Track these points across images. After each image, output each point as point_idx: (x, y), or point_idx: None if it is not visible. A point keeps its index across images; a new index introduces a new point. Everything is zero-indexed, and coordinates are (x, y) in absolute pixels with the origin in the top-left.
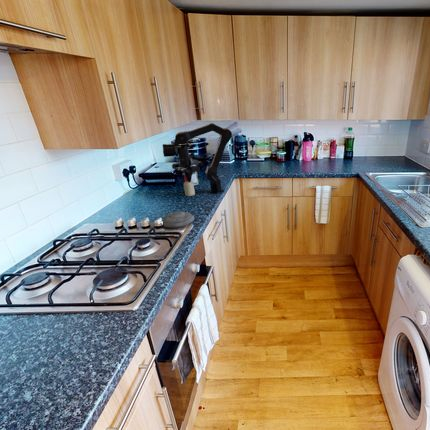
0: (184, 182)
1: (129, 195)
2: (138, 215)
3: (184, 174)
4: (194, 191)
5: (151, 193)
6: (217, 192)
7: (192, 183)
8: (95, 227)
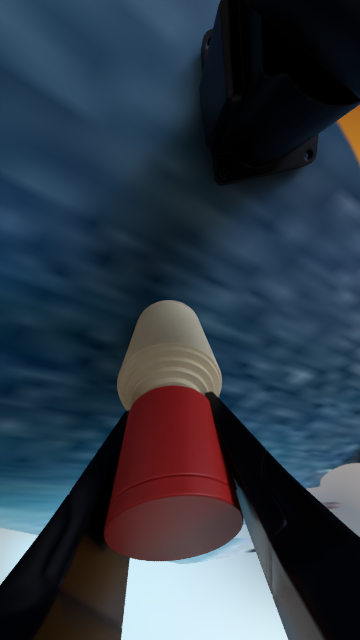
0: None
1: (6, 515)
2: None
3: (122, 552)
4: (190, 313)
5: (19, 464)
6: (317, 134)
7: (213, 362)
8: (241, 551)
